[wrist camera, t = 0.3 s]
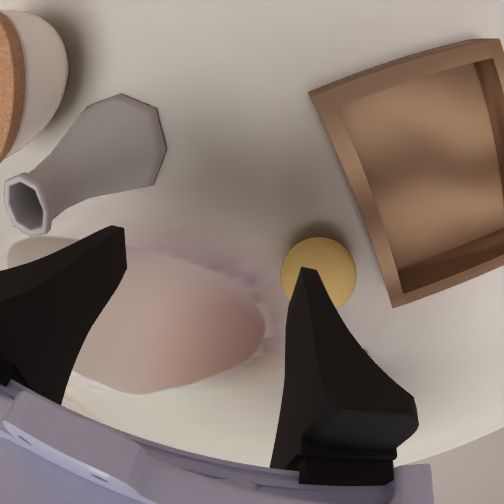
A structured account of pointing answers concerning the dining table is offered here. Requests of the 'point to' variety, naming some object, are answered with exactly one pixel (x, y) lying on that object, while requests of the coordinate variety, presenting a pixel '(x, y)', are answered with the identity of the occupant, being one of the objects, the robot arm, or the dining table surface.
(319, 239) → the ball
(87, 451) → the robot arm
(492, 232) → the tray
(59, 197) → the flask
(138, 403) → the dining table surface
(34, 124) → the lidded jar
